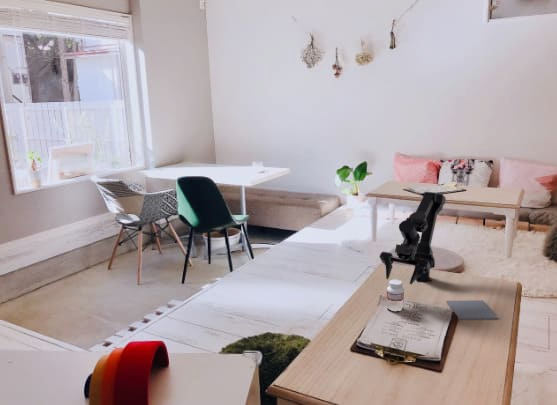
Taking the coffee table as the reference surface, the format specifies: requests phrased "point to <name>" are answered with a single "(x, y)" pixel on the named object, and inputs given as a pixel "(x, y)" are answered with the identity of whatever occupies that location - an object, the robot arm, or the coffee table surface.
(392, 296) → the pill bottle
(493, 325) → the coffee table surface
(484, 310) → the mat
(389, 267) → the robot arm
